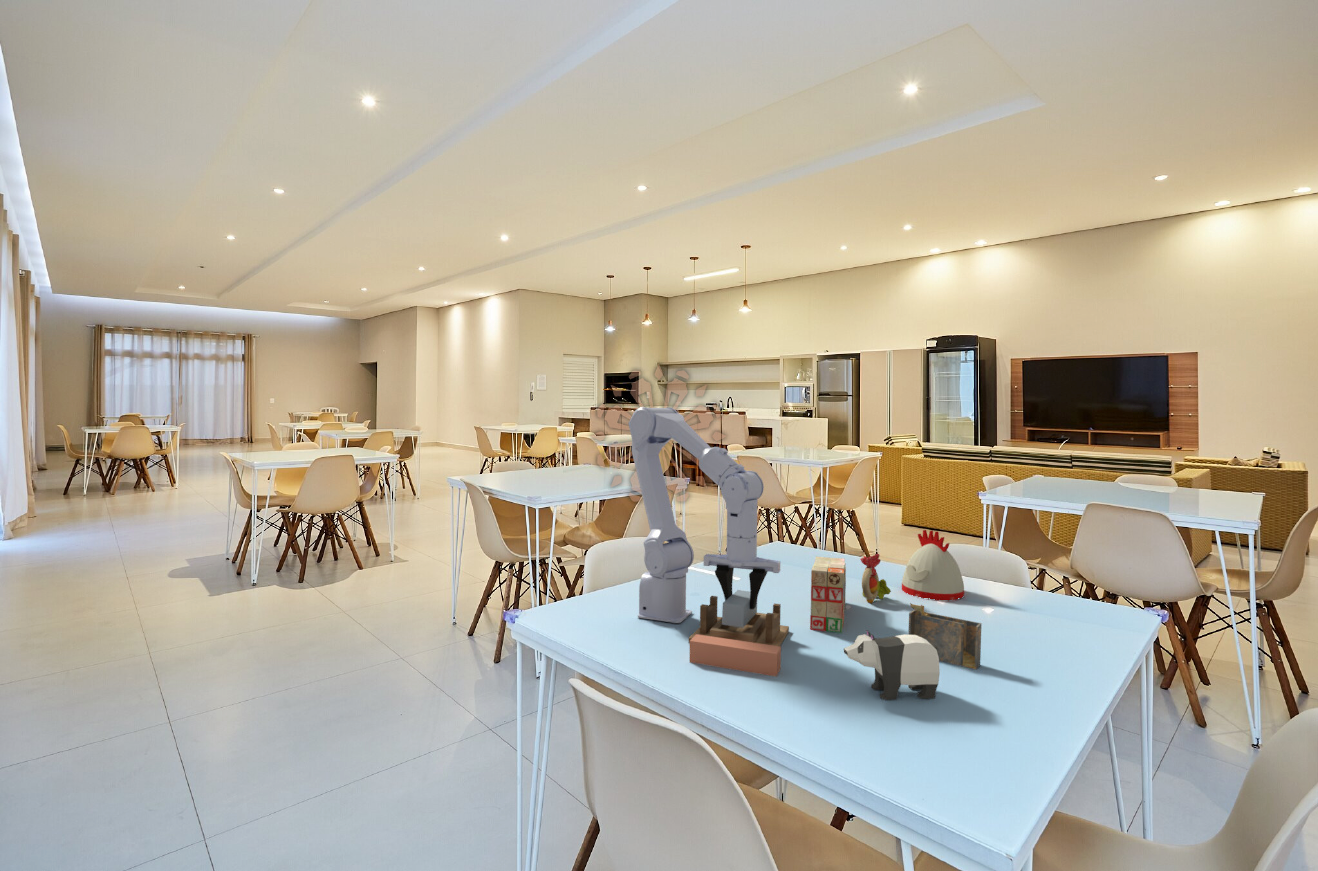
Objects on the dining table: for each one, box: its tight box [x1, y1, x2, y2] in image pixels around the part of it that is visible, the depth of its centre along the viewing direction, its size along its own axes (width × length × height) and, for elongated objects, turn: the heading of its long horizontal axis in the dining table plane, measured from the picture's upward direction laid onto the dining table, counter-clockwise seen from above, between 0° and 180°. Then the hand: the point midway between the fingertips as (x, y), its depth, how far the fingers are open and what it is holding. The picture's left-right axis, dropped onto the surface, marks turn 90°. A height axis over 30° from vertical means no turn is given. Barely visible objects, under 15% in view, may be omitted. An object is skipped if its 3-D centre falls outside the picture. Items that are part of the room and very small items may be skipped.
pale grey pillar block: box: [721, 589, 758, 628], centre depth 121 cm, size 4×10×4 cm, turn 157°
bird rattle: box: [860, 553, 892, 604], centre depth 146 cm, size 6×11×9 cm
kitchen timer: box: [901, 529, 965, 601], centre depth 153 cm, size 14×14×15 cm
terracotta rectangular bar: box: [688, 634, 782, 677], centre depth 108 cm, size 15×4×4 cm, turn 68°
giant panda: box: [843, 629, 941, 701], centre depth 98 cm, size 15×6×10 cm, turn 93°
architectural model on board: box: [908, 602, 983, 670], centre depth 111 cm, size 11×3×10 cm, turn 51°
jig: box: [688, 595, 790, 647], centre depth 121 cm, size 16×14×6 cm
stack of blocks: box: [809, 556, 847, 634], centre depth 135 cm, size 21×6×12 cm, turn 162°
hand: (740, 606), depth 121 cm, fingers closed on pale grey pillar block, 4 cm apart
